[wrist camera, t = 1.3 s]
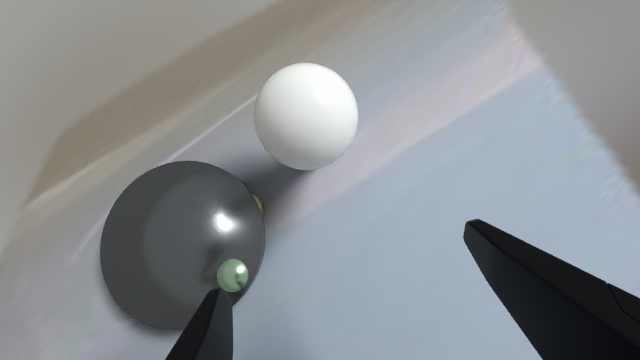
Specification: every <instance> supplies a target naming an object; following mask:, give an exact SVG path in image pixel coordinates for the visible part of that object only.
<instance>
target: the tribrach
mask: <svg viewBox="0 0 640 360" xmlns="http://www.w3.org/2000/svg"><path fill="white" fill-rule="evenodd" d="M263 215H264V205H263V203H262V201H261V199H260V198H259V197H258V196H256V195H254V194H252V193H251V192H250V191H249V189H248V188H247V187H246V186H245V185H244V184H243V183H242V182H241V181H240V180H239V179H238V178H236V177H235V176H233V175H232V174H230V173H229V172H227V171H225V170H223V169H221V168H219V167H216V166H213V165H211V164H208V163H203V162H198V161H178V162H172V163H167V164H164V165H161V166H158V167H156V168H154V169H152V170H150V171H148V172H146V173H145V174H143V175H141V176H140V177H138V178H137V179H136V180H135V181H133V182H132V183H131V184H130V185H129V186H128V187H127V188H126V189H125V190H124V191H123V192H122V194H121V195H120V196H119V198H118V199H117V200H116V202H115V203H114V205H113V207H112V208H111V210H110V213H109V215H108V217H107V219H106V222H105V225H104V228H103V233H102V238H101V247H100V258H101V266H102V272H103V275H104V279H105V282H106V284H107V286H108V288H109V290H110V293H111V294H112V296H113V297H114V299H115V300H116V302H117V303H118V304H119V305H120V306H121V307H122V308H123V309H124V310H125V311H126V312H127V313H128V314H130V315H131V316H132V317H134V318H135V319H137V320H139V321H140V322H142V323H145V324H147V325H149V326H152V327H156V328H160V329H168V330H182V329H185V328H186V326H187V324H188V323H189V321H190V320H191V318H192V317H193V315H194V313H195V312H196V310H197V309H198V307H199V306H200V304H201V303H202V301H203V299H204V298H205V296H206V295H207V293H208V292H209V291H210V290H212V289H216V288H222V289H223V290H224V291H225V292H226V293H227V295H228V296H229V297H230V299H231V301H232V306H233V305H234V304H236V303H237V302H238V301H239V300H240V299H241V298H242V297H243V295H244V294H245V293H246V292H247V291H248V289H249V288H250V286H251V285H252V283H253V281H254V280H255V278H256V276H257V274H258V271H259V269H260V266H261V263H262V259H263V255H264V249H265V227H264V221H263Z"/></svg>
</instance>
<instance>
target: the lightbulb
mask: <svg viewBox="0 0 640 360" xmlns="http://www.w3.org/2000/svg"><path fill="white" fill-rule="evenodd" d="M254 125H255V130H256V133H257V136H258V138H259V141H260V142H261V144H262V146H263V147H264V149H265V150H266V151H267V152H268V153H269V154H270V155H271V156H272V157H273V158H274V159H275V160H277V161H278V162H280V163H281V164H283V165H285V166H288V167H290V168H294V169H298V170H315V169H320V168H323V167H326V166H328V165H330V164H332V163H333V162H335V161H336V160H338V159H339V158H340V157H341V156H342V155H343V154H344V153H345V152H346V151H347V150H348V148H349V147H350V145H351V143H352V142H353V140H354V137H355V134H356V131H357V126H358V107H357V103H356V100H355V97H354V94H353V92H352V90H351V89H350V87H349V86H348V84H347V83H346V82H345V81H344V79H343V78H342V77H340V76H339V75H338V74H337V73H336V72H334V71H333V70H331V69H329V68H327V67H325V66H322V65H319V64H314V63H296V64H292V65H289V66H286V67H284V68H282V69H280V70H278V71H277V72H275V73H274V74H273V75H272V76H271V77H269V79H268V80H267V81H266V82H265V83H264V85H263V86H262V88H261V89H260V91H259V93H258V96H257V99H256V102H255V106H254Z"/></svg>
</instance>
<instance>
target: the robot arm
mask: <svg viewBox="0 0 640 360" xmlns="http://www.w3.org/2000/svg"><path fill="white" fill-rule="evenodd" d="M463 238H464V242H465V244H466V245H467V247H468V249H469V251H470V252H471V254H472V256H473V258H474V260H475V261H476V263H477V265H478V267H479V268H480V270H481V272H482V274H483V275H484V277H485V279H486V280H487V282H488V283H489V285H490V286H491V288H492V289H493V291H494V292H495V293H496V295H497V296H498V298H499V299H500V300H501V302H502V303H503V305H504V306H505V307H506V309H507V310H508V312H509V313H510V314H511V316H512V317H513V319H514V320H515V321H516V323H517V324H518V326H519V327H520V328H521V330H522V331H523V333H524V334H525V335H526V337H527V338H528V340H529V341H530V343H531V344H532V345H533V347H534V348H535V350H536V351H537V352H538V354H539V355H540V357H541V358H542V359H543V360H640V298H638V297H636V296H634V295H632V294H630V293H628V292H626V291H624V290H622V289H620V288H618V287H616V286H614V285H612V284H609V283H606V282H605V281H603V280H601V279H599V278H597V277H595V276H593V275H591V274H589V273H587V272H585V271H583V270H581V269H579V268H577V267H575V266H573V265H571V264H569V263H567V262H565V261H563V260H561V259H559V258H557V257H555V256H553V255H551V254H549V253H547V252H545V251H543V250H541V249H539V248H537V247H535V246H533V245H531V244H529V243H527V242H525V241H523V240H520V239H518V238H516V237H514V236H512V235H510V234H508V233H506V232H504V231H502V230H500V229H498V228H496V227H494V226H492V225H490V224H488V223H486V222H484V221H482V220H480V219H474V220H471V221H467V222H466V224H465V230H464V236H463ZM232 359H233V315H232V301H231V299H230V297H229V296H228V295H227V293H226V292H225V291H224V290H223V289H222V288H216V289H212V290H210V291H209V292H208V293H207V295H206V296H205V298H204V299H203V301H202V303H201V304H200V306H199V307H198V309H197V310H196V312H195V313H194V315H193V317H192V318H191V320H190V321H189V323H188V324H187V326H186V328H185V329H184V331H183V332H182V334H181V335H180V337H179V339H178V340H177V342H176V343H175V345H174V346H173V348H172V350H171V351H170V353H169V354H168V356H167V357H166V359H165V360H232Z"/></svg>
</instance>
